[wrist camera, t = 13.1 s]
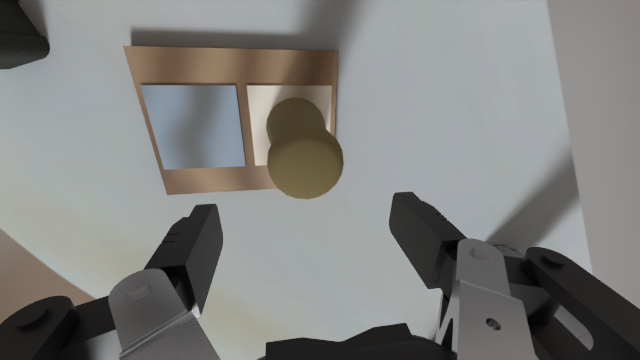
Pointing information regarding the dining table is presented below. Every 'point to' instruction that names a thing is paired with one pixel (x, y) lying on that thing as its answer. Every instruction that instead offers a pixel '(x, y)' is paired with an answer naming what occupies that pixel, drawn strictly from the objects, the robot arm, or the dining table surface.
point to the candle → (18, 37)
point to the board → (223, 109)
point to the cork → (302, 150)
